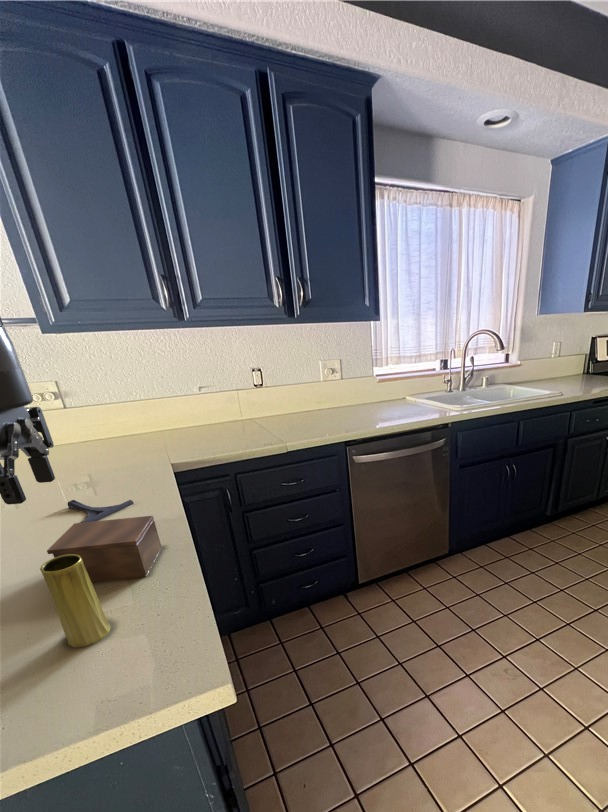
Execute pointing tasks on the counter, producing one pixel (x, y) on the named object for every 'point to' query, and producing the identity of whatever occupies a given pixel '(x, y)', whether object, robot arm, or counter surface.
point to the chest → (121, 558)
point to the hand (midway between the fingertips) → (32, 491)
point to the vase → (75, 600)
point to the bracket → (97, 510)
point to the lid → (102, 534)
